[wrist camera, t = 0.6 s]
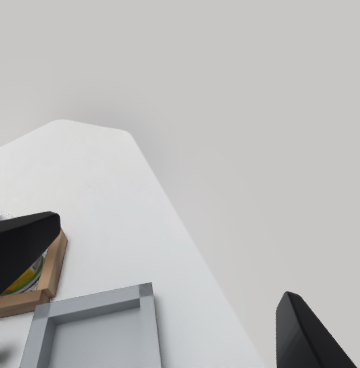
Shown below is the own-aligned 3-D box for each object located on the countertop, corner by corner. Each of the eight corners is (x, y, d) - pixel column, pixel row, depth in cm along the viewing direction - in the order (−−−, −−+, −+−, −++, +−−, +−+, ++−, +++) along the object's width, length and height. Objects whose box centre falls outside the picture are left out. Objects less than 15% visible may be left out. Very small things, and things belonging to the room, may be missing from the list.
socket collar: (52, 307, 21) (44, 299, 20) (-54, 329, 19) (-70, 321, 18) (68, 233, 28) (63, 224, 26) (-10, 245, 26) (-19, 235, 25)
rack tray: (170, 443, 15) (170, 445, 13) (8, 498, 13) (-20, 509, 11) (153, 295, 22) (151, 282, 20) (49, 317, 20) (36, 305, 18)
